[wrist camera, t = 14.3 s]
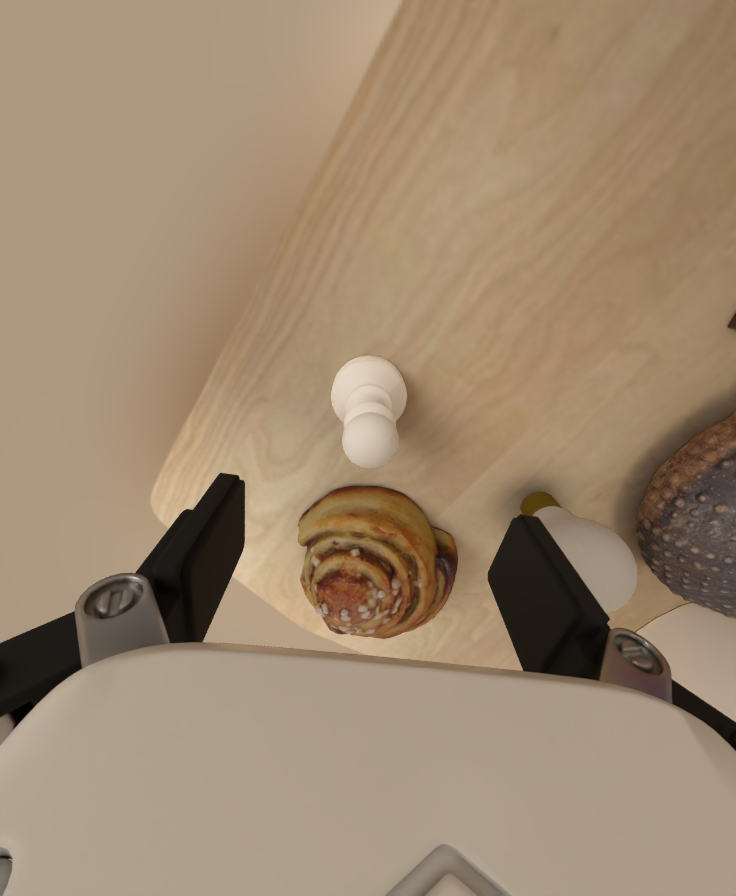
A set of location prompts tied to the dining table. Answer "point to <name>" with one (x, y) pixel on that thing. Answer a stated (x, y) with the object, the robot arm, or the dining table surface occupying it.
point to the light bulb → (589, 551)
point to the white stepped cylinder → (699, 652)
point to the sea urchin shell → (695, 520)
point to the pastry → (374, 562)
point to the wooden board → (733, 323)
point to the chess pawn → (369, 409)
